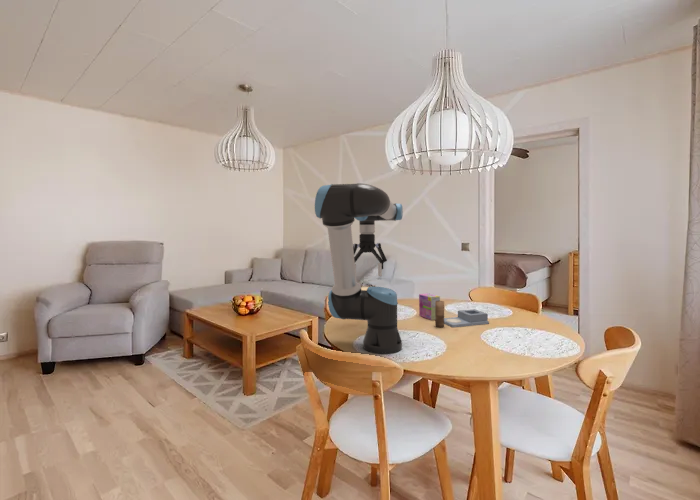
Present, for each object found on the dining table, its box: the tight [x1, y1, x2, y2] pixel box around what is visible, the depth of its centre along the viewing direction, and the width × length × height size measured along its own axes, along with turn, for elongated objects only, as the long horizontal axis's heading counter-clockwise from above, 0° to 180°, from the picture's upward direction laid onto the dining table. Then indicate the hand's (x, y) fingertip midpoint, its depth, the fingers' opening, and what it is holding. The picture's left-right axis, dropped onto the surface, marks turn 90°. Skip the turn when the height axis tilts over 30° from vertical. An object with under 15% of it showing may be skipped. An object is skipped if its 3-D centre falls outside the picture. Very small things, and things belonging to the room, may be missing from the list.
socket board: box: [444, 309, 490, 328], centre depth 171 cm, size 12×20×5 cm, turn 106°
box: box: [418, 292, 441, 321], centre depth 181 cm, size 10×6×12 cm, turn 25°
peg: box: [434, 300, 445, 329], centre depth 164 cm, size 4×4×12 cm
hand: (367, 276), depth 172 cm, fingers open, 13 cm apart
